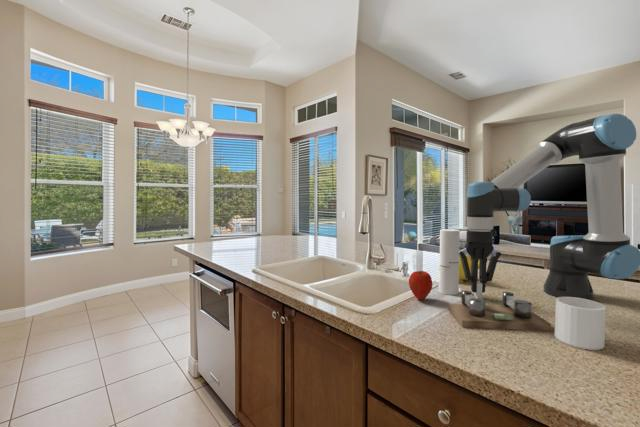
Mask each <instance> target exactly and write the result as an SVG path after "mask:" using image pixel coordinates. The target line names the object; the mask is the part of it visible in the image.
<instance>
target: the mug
mask: <svg viewBox="0 0 640 427" xmlns="http://www.w3.org/2000/svg"><path fill="white" fill-rule="evenodd" d="M606 312H607V307H606V305H605V304H602V303H601V302H597V301H594V300H592V299H591V300H587V299H582V298H576V297H557V296H556V298H555V314H554V317H555V318H554V337H555V339H556V340H557V339H558V340H557V341H559V342H560V341H561V343H562V342H563V343H562V344H564V343H565V344H564V345H567V346H569V345H570V347H572V346H573V348H576V347H577V348H576V349H580V348H582V349H581V350H585V349H588V350H587V351H600V349H601V350H603V349H604V348H605V338H606V335H605V334H606V320H607V318H606V317H607V316H606V315H607V313H606Z"/></svg>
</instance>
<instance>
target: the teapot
mask: <svg viewBox="0 0 640 427" xmlns="http://www.w3.org/2000/svg"><path fill="white" fill-rule="evenodd" d="M459 250H460V251H461V250H462V249H459ZM466 257H467V261H468V265H469V269H470V273H471V256H470V255H469V254H467V255H466ZM479 262H480V261H479ZM479 262H478V270H479ZM439 268H440V264H439V265H438V269H439ZM463 280H465V281H468V280H467V279H466V278H465V274H464V270H463V266H462V261H461V257H460V256H459V284H462V283H464V281H463Z"/></svg>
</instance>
